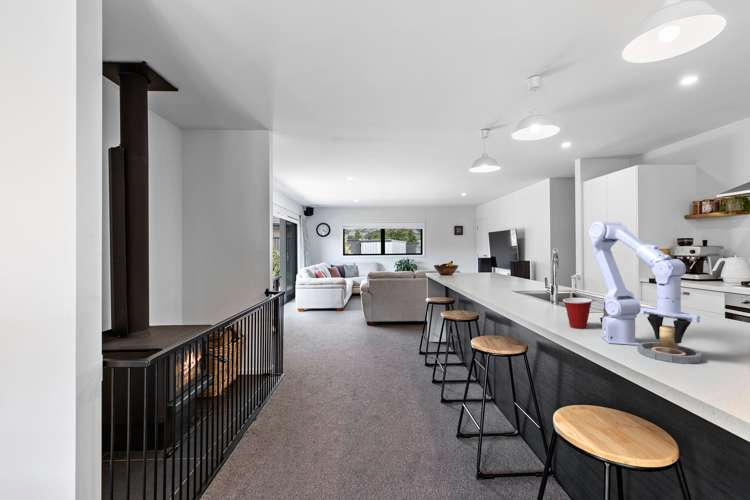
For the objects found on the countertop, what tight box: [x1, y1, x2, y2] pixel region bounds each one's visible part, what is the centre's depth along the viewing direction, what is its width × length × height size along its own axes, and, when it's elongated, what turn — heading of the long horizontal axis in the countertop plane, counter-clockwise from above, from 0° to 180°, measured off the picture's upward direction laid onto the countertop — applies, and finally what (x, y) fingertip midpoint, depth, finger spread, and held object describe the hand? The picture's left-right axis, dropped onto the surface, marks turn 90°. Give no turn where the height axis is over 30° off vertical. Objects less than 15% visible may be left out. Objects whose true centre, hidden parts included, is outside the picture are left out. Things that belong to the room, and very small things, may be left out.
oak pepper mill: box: [658, 324, 679, 348], centre depth 107 cm, size 4×4×6 cm
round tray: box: [637, 341, 702, 365], centre depth 107 cm, size 15×15×2 cm
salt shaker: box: [599, 301, 609, 329], centre depth 142 cm, size 6×6×12 cm
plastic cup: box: [562, 297, 593, 330], centre depth 143 cm, size 11×11×12 cm
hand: (668, 340), depth 107 cm, fingers closed on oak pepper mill, 4 cm apart
